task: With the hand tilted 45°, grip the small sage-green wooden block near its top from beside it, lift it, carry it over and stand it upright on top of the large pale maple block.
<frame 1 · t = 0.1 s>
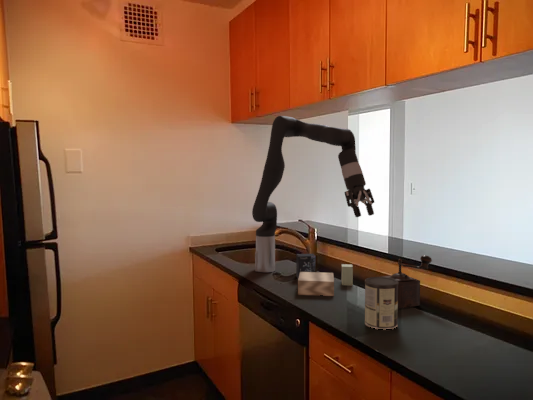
hand: (365, 215, 159), 31 cm above the counter, tool tilted 20°, fingers open, 8 cm apart
green block: (346, 283, 179), on the counter
coffee can: (380, 324, 133), on the counter
maple block: (316, 290, 170), on the counter
box: (305, 278, 190), on the counter
coffee grinder: (405, 303, 154), on the counter
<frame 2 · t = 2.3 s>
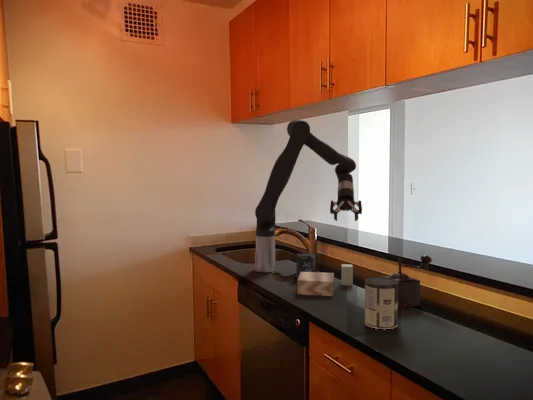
hand: (346, 220, 186), 26 cm above the counter, tool tilted 45°, fingers open, 8 cm apart
nothing on the counter moved.
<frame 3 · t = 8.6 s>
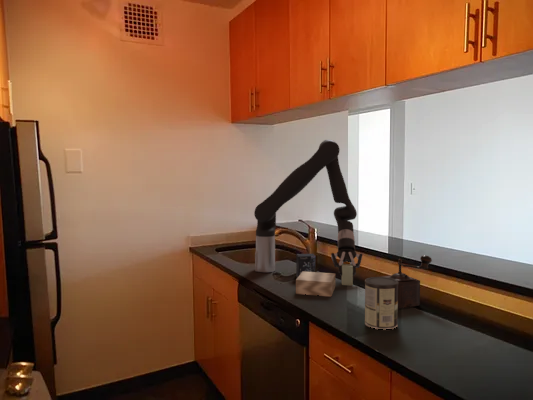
hand: (347, 274, 177), 4 cm above the counter, tool tilted 45°, fingers closed on green block, 4 cm apart
green block: (347, 283, 179), on the counter, touching gripper
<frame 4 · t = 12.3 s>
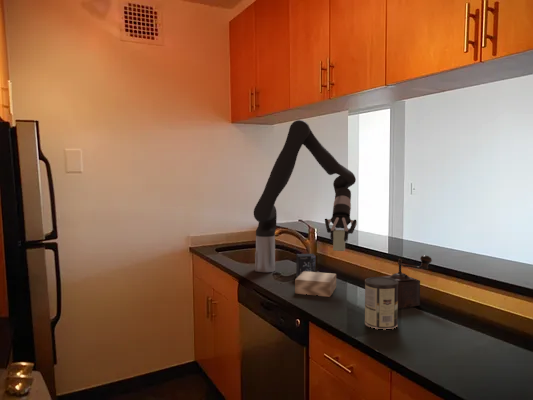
hand: (338, 240, 173), 20 cm above the counter, tool tilted 45°, fingers closed on green block, 4 cm apart
green block: (339, 249, 175), point 15 cm above the counter, touching gripper
everything else where it was.
when the fingers open (12 cm above the counter, at t = 16.1 s): green block drops 2 cm, resting on maple block.
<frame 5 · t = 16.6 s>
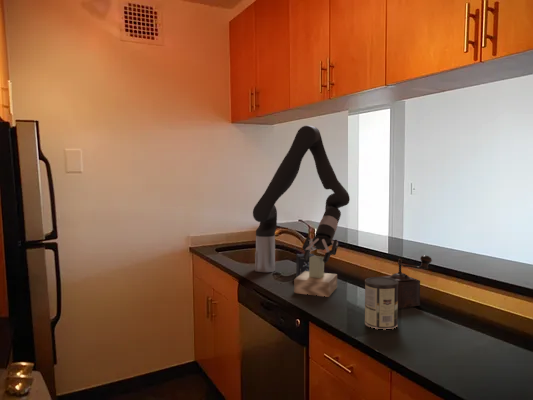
hand: (314, 260, 168), 12 cm above the counter, tool tilted 45°, fingers open, 8 cm apart
green block: (316, 276, 170), point 6 cm above the counter, touching maple block
maple block: (316, 291, 170), on the counter, touching green block
everything else where it was.
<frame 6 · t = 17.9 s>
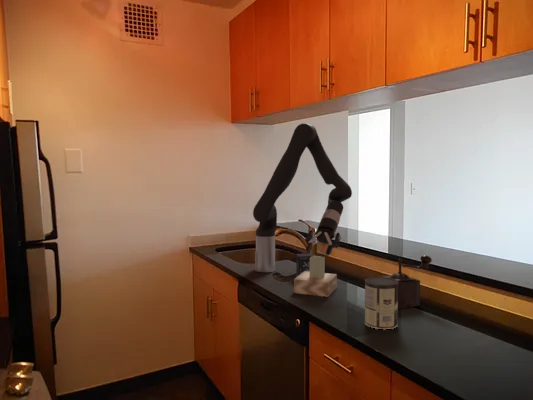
hand: (317, 253, 170), 15 cm above the counter, tool tilted 45°, fingers open, 8 cm apart
nothing on the counter moved.
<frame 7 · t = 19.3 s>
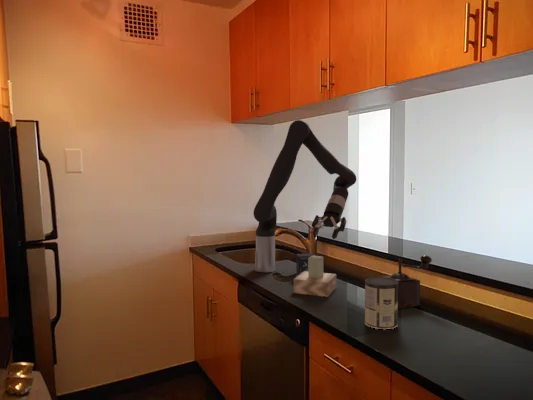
hand: (323, 237, 174), 21 cm above the counter, tool tilted 45°, fingers open, 8 cm apart
green block: (316, 276, 170), point 6 cm above the counter
maple block: (315, 290, 170), on the counter
everything else where it was.
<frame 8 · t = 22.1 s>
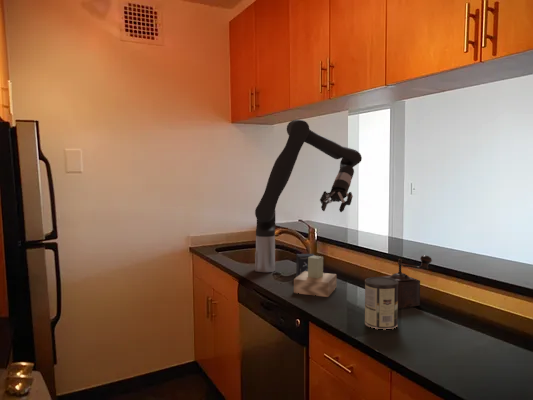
hand: (331, 210, 188), 31 cm above the counter, tool tilted 45°, fingers open, 8 cm apart
nothing on the counter moved.
at the end: green block inside the target area on the maple block (0.2 cm from its centre), point 6.0 cm above the maple block's base; green block tilted 0°; the gripper is holding nothing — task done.
